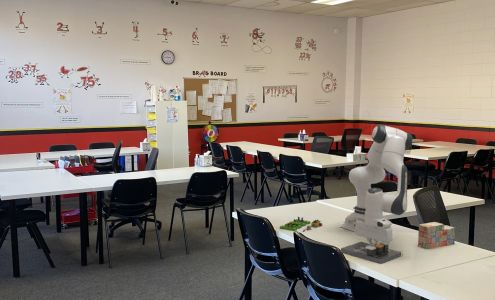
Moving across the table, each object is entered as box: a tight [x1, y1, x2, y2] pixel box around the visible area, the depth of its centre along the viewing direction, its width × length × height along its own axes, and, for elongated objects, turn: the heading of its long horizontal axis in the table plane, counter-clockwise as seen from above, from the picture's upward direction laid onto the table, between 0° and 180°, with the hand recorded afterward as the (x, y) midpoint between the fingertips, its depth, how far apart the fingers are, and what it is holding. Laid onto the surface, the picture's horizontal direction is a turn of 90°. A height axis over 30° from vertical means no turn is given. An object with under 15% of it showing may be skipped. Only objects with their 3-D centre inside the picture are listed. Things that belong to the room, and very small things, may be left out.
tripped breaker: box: [373, 243, 384, 253], centre depth 242 cm, size 4×4×3 cm
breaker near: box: [366, 246, 376, 255], centre depth 239 cm, size 4×4×3 cm
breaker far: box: [378, 241, 390, 250], centre depth 247 cm, size 4×4×3 cm
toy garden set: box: [279, 216, 323, 232], centre depth 299 cm, size 23×19×5 cm
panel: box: [340, 241, 402, 265], centre depth 246 cm, size 24×18×2 cm
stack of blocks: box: [417, 221, 456, 250], centre depth 262 cm, size 21×6×12 cm, turn 118°
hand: (372, 247), depth 245 cm, fingers closed
